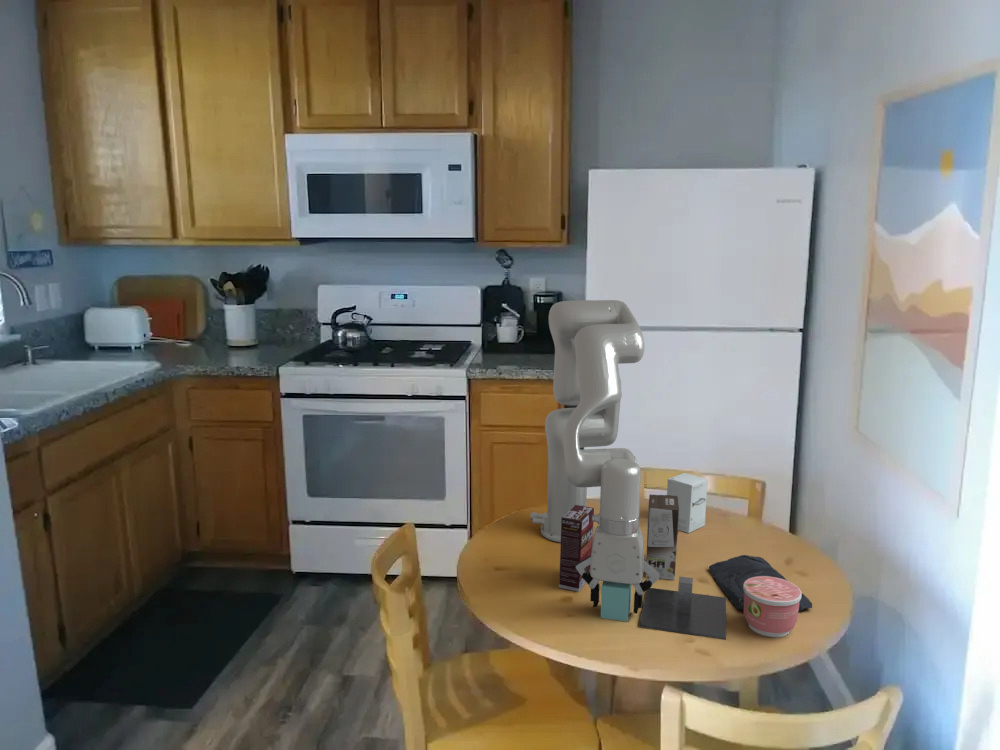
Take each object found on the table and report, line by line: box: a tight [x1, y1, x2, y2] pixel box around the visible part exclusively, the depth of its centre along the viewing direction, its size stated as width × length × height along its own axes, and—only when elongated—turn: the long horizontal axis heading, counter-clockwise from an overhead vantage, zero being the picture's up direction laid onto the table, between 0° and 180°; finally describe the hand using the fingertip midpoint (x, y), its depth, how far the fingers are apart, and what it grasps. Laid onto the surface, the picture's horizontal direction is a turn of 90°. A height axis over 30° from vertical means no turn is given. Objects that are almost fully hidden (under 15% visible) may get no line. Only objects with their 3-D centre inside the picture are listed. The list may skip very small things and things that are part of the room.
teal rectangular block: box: [600, 581, 632, 623], centre depth 155 cm, size 5×5×7 cm
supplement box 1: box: [558, 505, 595, 593], centre depth 167 cm, size 9×5×16 cm, turn 155°
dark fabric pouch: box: [708, 554, 813, 613], centre depth 165 cm, size 15×22×5 cm
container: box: [743, 576, 803, 638], centre depth 150 cm, size 10×10×8 cm
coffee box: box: [645, 494, 679, 581], centre depth 173 cm, size 9×6×16 cm
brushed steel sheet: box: [638, 575, 727, 640], centre depth 155 cm, size 16×16×7 cm
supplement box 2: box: [666, 472, 709, 534], centre depth 198 cm, size 7×7×13 cm
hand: (615, 606), depth 155 cm, fingers open, 7 cm apart
